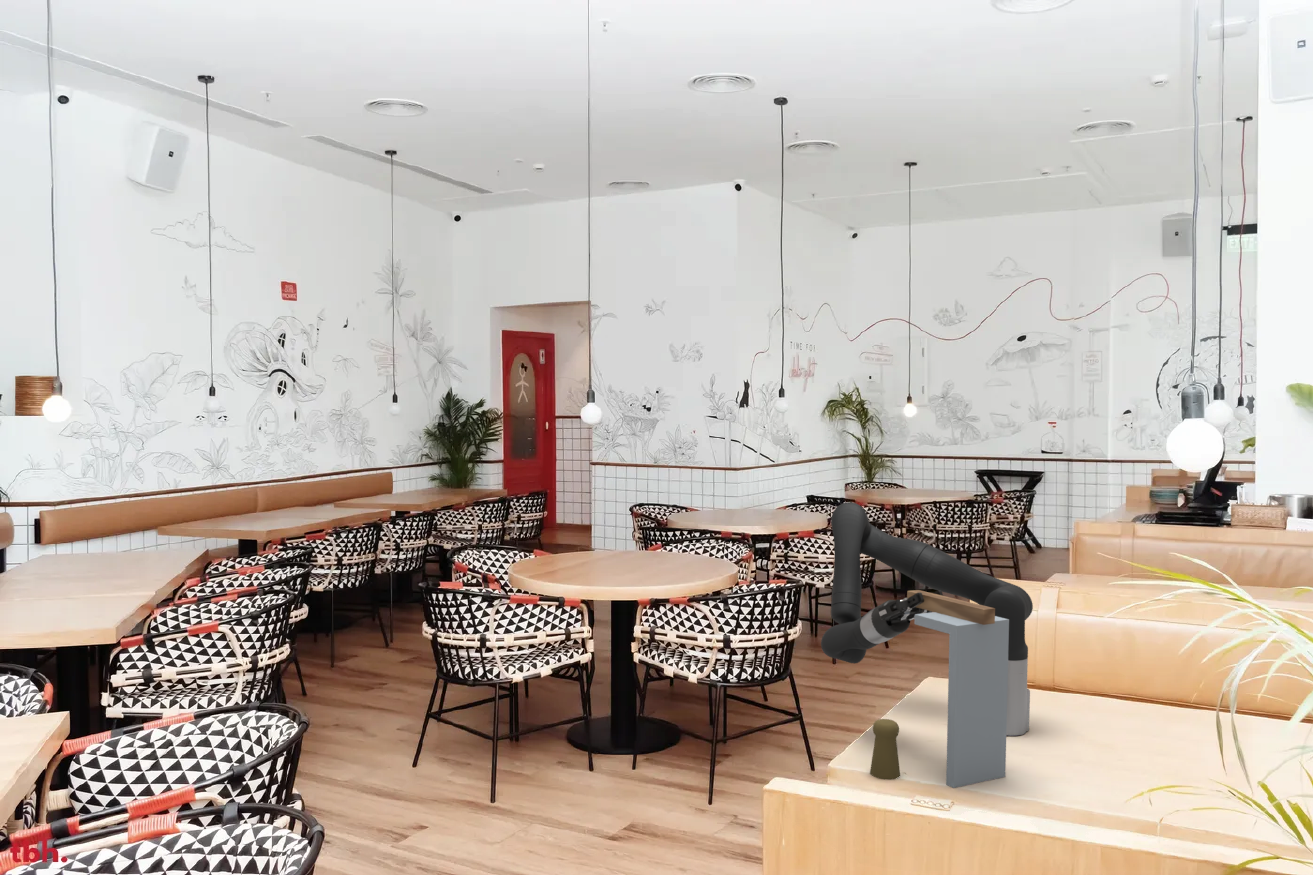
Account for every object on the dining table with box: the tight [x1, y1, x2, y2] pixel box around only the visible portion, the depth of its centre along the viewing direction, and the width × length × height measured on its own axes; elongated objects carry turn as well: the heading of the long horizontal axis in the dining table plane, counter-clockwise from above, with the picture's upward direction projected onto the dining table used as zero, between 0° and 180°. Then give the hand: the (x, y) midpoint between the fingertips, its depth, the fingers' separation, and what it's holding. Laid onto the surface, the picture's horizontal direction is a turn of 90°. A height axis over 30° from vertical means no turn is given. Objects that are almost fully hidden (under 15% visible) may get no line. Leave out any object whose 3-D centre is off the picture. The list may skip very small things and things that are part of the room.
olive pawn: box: [869, 718, 901, 780], centre depth 212 cm, size 6×6×11 cm
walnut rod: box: [906, 589, 995, 625], centre depth 216 cm, size 3×22×3 cm, turn 28°
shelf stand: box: [914, 612, 1009, 789], centre depth 213 cm, size 14×12×32 cm
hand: (931, 595), depth 220 cm, fingers open, 5 cm apart
